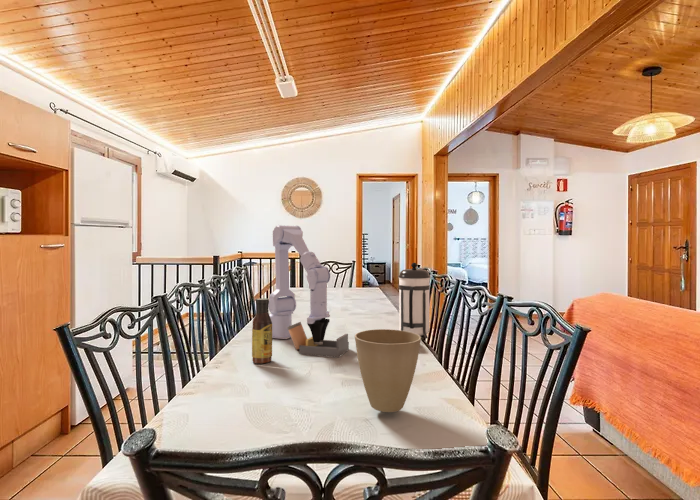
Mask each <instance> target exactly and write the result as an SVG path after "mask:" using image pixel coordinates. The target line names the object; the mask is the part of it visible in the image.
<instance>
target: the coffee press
mask: <svg viewBox="0 0 700 500" xmlns="http://www.w3.org/2000/svg"><path fill="white" fill-rule="evenodd" d="M417 266H418V264H417V263H416V262H412V263H411V267H412V268H405V269H402V270H401V271H400V272H399V274H398V279H399V280H398V281H399V283H398V291H399V292H398V296H399V297H398V298H399V303H398V305H399V310H398V313H399V315H398V317H399V328H398V330H401V331H408V332H412V333H415V334H418V335H419V336H420V337H421V339H422V338H424V339H428V334H429V333H430V291H431V285H430V278H431V275H430V274H429V271H428V270H426V269H423V268H422V269H421V268H417Z"/></svg>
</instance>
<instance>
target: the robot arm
mask: <svg viewBox="0 0 700 500" xmlns="http://www.w3.org/2000/svg"><path fill="white" fill-rule="evenodd" d="M303 233H304V232H303V230H302V228H301V226H299V225H282V224H277V225H275V227H274V229H273V230H272V246H273V247H274V256H275V258H274V261H275V262H274V263H275V265H274V266H275V289H274V290H273V291H272V292H271V293H270V294H269V298H268V299H269V304H268V311H269V312H270V313H269V315H270V318H271V321H272V339H279V340H280V339H284V340H287V339H291V335H290V333H289V330H288V328H287V327H289V326H291V325H293V324H292V321H293V317H292V316H293V314H294V312H295V310H296V309H297V300H296V297H295V293H294V292H293V291H292V290H290V270H289V267H290V266H289V263H290V261H289V260H290V259H289V250H290V248H291V247H294V249H295V250H296V252H297V253H298V254H299V255H300V258H299V261H300V263H301V265H302V266H303V269H304V270H305V272H306V274H307V275H306V280H307V282H308V288H309V289H310V290H309V292H310V293H309V294H310V299H309V301H310V306H309V307H310V310H309V311H310V313H309V316H308V317H307V318H306V324H307V326H308V328H309V330H310V332H311V335H312V336H311V337H313V341H314V342H320V340H325V335H326V332H327V331H326V330H327V329H328V326H329V323H330V319H329V318H330V317H331V314H330V311H327V310H328V307H327V306H328V303H327V302H328V298H327V297H328V294H327V293H328V292H327V291H328V288H327V286H328V283H329V282H330V280H331V273H330V270H329V267H327V266H324V265H323V264H322V263H321V262H320V261H319V259H318V258H317V256H316V254H315V252H312V251H310V250H309V248H308V246H307V244H306V241H305V240H304V239H303V236H304V235H303Z"/></svg>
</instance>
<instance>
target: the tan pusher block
mask: <svg viewBox="0 0 700 500" xmlns="http://www.w3.org/2000/svg"><path fill="white" fill-rule="evenodd" d="M317 345H323V342H314V341H313V337H312V336H311V337H309V338H307V340H306V346H315V347H316V346H317Z"/></svg>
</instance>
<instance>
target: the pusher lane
mask: <svg viewBox="0 0 700 500" xmlns="http://www.w3.org/2000/svg"><path fill="white" fill-rule="evenodd" d="M320 342H323V345H317V346H316V347H315V346H304V345H300V346H299V349H298V350H299V355H306V356H316V357H317V356H318V357H324V358H326V357H327V358H336V359H337V358H340V357H341V356H342V355H344V354H345V353H346V352H348V351H349V350H350V349H349V348H350V346H349V345H350V343H349V334H348V333H344V334H342V335H341V336H339V337H338V338H336V340H330V339H329V340H328V339H324V340H320Z"/></svg>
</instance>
